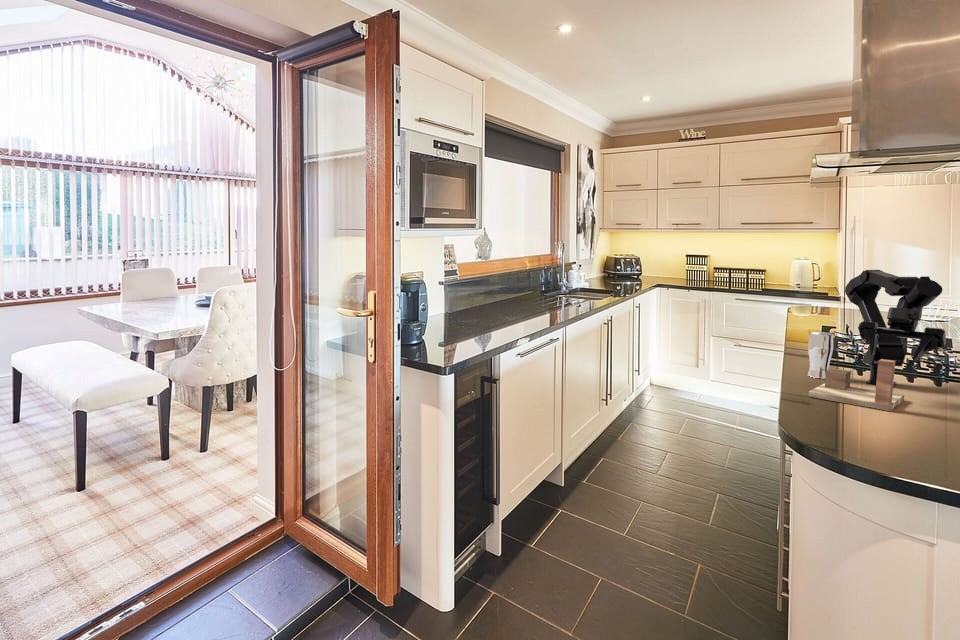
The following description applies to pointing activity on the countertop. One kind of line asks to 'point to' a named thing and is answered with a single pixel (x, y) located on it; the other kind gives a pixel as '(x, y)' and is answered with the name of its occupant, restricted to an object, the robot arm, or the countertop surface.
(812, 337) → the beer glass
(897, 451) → the countertop surface
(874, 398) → the board with upright post
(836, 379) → the walnut cube
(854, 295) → the robot arm
